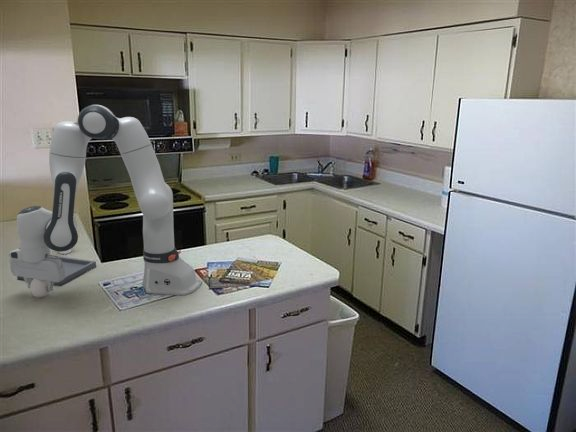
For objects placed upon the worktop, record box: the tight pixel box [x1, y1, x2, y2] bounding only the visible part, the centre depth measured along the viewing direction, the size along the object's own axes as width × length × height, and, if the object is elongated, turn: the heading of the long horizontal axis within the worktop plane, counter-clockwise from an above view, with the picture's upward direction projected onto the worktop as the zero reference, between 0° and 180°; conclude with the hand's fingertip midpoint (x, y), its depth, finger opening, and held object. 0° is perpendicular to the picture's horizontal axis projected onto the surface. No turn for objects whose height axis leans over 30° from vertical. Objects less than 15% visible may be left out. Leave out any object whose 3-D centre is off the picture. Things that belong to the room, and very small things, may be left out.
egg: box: [29, 279, 50, 298], centre depth 155 cm, size 6×6×8 cm
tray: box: [16, 255, 97, 287], centre depth 176 cm, size 20×20×2 cm
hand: (40, 289), depth 155 cm, fingers closed on egg, 6 cm apart
